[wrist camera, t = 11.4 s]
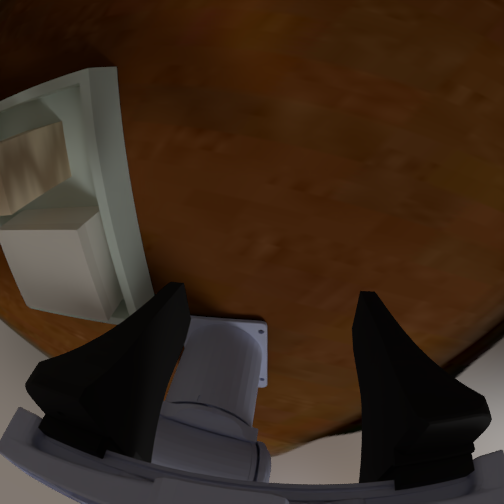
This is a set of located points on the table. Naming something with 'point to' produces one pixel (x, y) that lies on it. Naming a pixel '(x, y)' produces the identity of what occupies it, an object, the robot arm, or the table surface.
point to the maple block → (31, 166)
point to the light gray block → (62, 261)
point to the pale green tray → (89, 167)
